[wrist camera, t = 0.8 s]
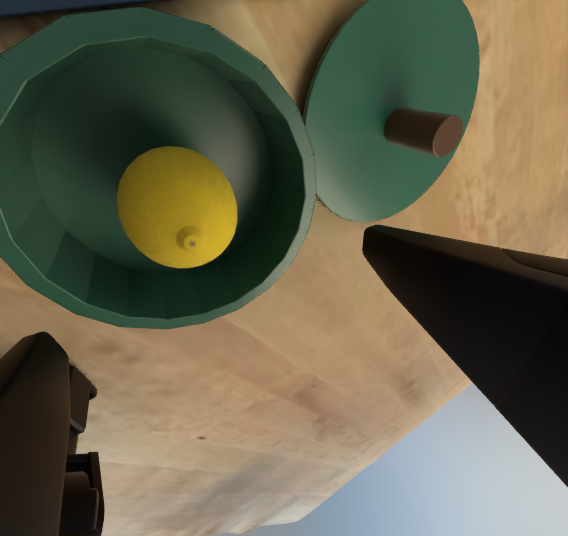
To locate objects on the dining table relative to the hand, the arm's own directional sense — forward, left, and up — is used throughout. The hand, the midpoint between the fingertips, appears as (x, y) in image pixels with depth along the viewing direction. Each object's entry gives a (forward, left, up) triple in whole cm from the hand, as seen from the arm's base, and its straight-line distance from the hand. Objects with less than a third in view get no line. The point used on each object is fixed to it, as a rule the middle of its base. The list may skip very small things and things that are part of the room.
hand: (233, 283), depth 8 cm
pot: (-1, -1, -12) cm, 13 cm away
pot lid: (+16, -1, -12) cm, 20 cm away
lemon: (-1, -1, -12) cm, 12 cm away
